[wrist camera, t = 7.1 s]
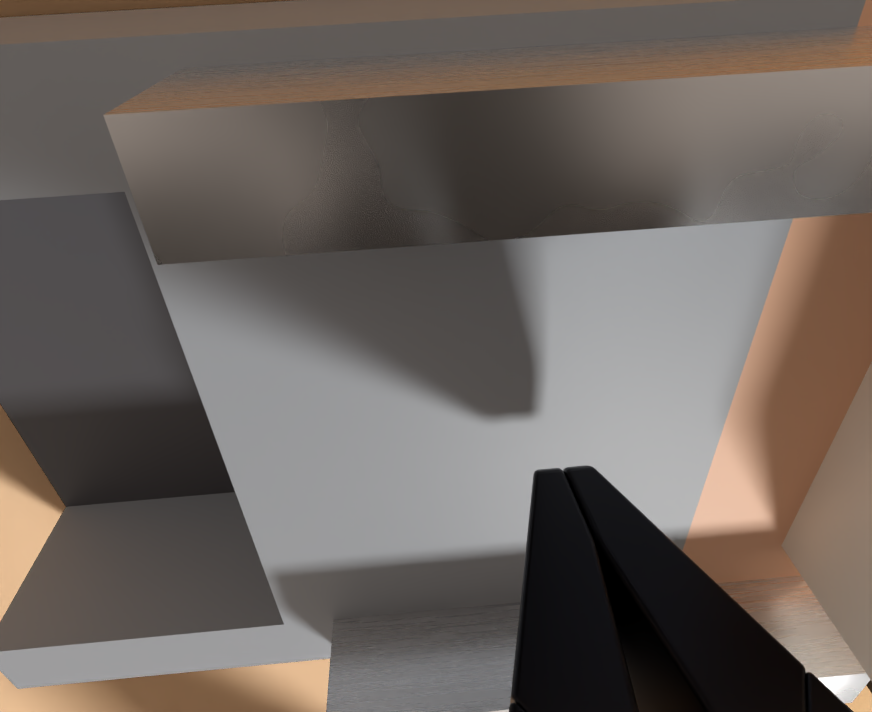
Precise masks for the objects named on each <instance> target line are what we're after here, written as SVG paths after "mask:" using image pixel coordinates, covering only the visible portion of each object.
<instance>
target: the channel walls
mask: <svg viewBox="0 0 872 712" xmlns="http://www.w3.org/2000/svg"><path fill="white" fill-rule="evenodd" d="M103 116H104V118H105V121H106V124H107V127H108V130H109V132H110V135H111V138H112V141H113V143H114V146H115V149H116V152H117V154H118V157H119V160H120V163H121V165H122V168H123V171H124V174H125V176H126V179H127V182H128V185H129V188H130V190H131V193H132V196H133V199H134V201H135V204H136V207H137V210H138V212H139V215H140V218H141V221H142V223H143V226H144V229H145V232H146V235H147V237H148V240H149V243H150V246H151V248H152V251H153V254H154V257H155V259H156V262H157V265H164V264H178V263H192V262H205V261H219V260H233V259H246V258H260V257H274V256H287V255H301V254H315V253H328V252H342V251H356V250H369V249H383V248H397V247H410V246H424V245H438V244H451V243H465V242H479V241H492V240H506V239H520V238H533V237H547V236H561V235H574V234H588V233H602V232H615V231H629V230H643V229H656V228H670V227H684V226H697V225H711V224H725V223H738V222H752V221H766V220H779V219H793V218H807V217H820V216H834V215H848V214H861V213H872V26H858V27H842V28H826V29H809V30H793V31H777V32H761V33H745V34H728V35H712V36H696V37H680V38H664V39H647V40H631V41H615V42H599V43H583V44H566V45H550V46H534V47H518V48H501V49H485V50H469V51H453V52H437V53H420V54H404V55H388V56H372V57H356V58H339V59H323V60H307V61H291V62H275V63H258V64H242V65H226V66H210V67H194V68H182V69H180V70H178V71H177V72H175V73H173V74H172V75H170V76H168V77H167V78H165V79H163V80H161V81H160V82H158V83H156V84H155V85H153V86H151V87H150V88H148V89H146V90H145V91H143V92H141V93H140V94H138V95H136V96H134V97H133V98H131V99H129V100H128V101H126V102H124V103H123V104H121V105H119V106H118V107H116V108H114V109H112V110H111V111H109V112H107V113H106V114H104V115H103ZM717 584H718V585H719V586H720V587H721V588H722V589H723V590H724V591H725V592H726V593H728V594H729V595H730V596H731V597H732V598H733V599H734V600H735V601H736V602H737V603H738V604H739V605H740V606H741V607H742V608H743V609H744V610H745V611H747V612H748V613H749V614H750V615H751V616H752V617H753V618H754V619H755V620H756V621H757V622H758V623H759V624H760V625H761V626H762V627H763V628H765V629H766V630H767V631H768V632H769V633H770V634H771V635H772V636H773V637H774V638H775V639H776V640H777V641H778V642H779V643H780V644H781V645H783V646H784V647H785V648H786V649H787V650H788V651H789V652H790V653H791V654H792V655H793V656H794V657H795V658H796V659H797V660H798V661H799V662H801V663H802V664H803V665H804V667H805V671H806V672H811V673H812V674H814V675H815V676H816V677H817V678H818V679H819V680H820V681H821V682H822V683H823V684H824V685H825V686H826V687H827V688H828V689H829V690H831V691H832V692H833V693H834V694H835V695H836V696H837V697H838V698H839V699H840V700H841V701H842V702H843V703H852V702H853V701H854V699H855V698H856V697H857V696H858V694H859V693H860V692H861V691H862V690H863V688H864V687H865V686H866V685H867V683H868V682H869V681H870V678H869V677H868V675H867V674H866V672H865V671H864V669H863V668H862V666H861V665H860V663H859V662H858V660H857V659H856V657H855V656H854V654H853V653H852V651H851V650H850V648H849V647H848V645H847V644H846V642H845V641H844V639H843V638H842V636H841V635H840V633H839V632H838V630H837V629H836V627H835V626H834V624H833V623H832V621H831V620H830V618H829V617H828V615H827V614H826V612H825V611H824V609H823V608H822V606H821V605H820V603H819V602H818V600H817V599H816V597H815V596H814V594H813V593H812V591H811V590H810V588H809V587H808V585H807V584H806V582H805V581H804V579H803V578H802V576H801V575H800V576H789V577H779V578H768V579H757V580H747V581H736V582H726V583H717ZM519 610H520V602H516V603H505V604H495V605H484V606H473V607H463V608H452V609H442V610H431V611H421V612H410V613H400V614H389V615H379V616H368V617H358V618H347V619H337V620H333V630H332V644H331V657H330V670H329V683H328V697H327V710H326V712H509V706H510V699H511V688H512V679H513V669H514V659H515V649H516V640H517V630H518V620H519Z"/></svg>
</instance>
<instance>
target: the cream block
mask: <svg viewBox="0 0 872 712" xmlns="http://www.w3.org/2000/svg"><path fill="white" fill-rule="evenodd" d="M781 546H782V548H783V549H784V551H785V552H786V554H787V555H788V557H789V558H790V560H791V561H792V563H793V564H794V566H795V567H796V569H797V570H798V572H799V573H800V575H801V576H802V578H803V579H804V581H805V582H806V584H807V585H808V587H809V588H810V590H811V591H812V593H813V594H814V596H815V597H816V599H817V600H818V602H819V603H820V605H821V606H822V608H823V609H824V611H825V612H826V614H827V615H828V617H829V618H830V620H831V621H832V623H833V624H834V626H835V627H836V629H837V630H838V632H839V633H840V635H841V636H842V638H843V639H844V641H845V642H846V644H847V645H848V647H849V648H850V650H851V651H852V653H853V654H854V656H855V657H856V659H857V660H858V662H859V663H860V665H861V666H862V668H863V669H864V671H865V672H866V674H867V675H868V677H869V678H870V680H871V681H872V362H871V364H870V366H869V368H868V370H867V372H866V374H865V376H864V378H863V380H862V382H861V384H860V387H859V389H858V391H857V393H856V395H855V397H854V399H853V401H852V403H851V405H850V407H849V409H848V411H847V413H846V415H845V417H844V419H843V421H842V423H841V425H840V427H839V429H838V431H837V433H836V435H835V437H834V439H833V441H832V443H831V446H830V448H829V450H828V452H827V454H826V456H825V458H824V460H823V462H822V464H821V466H820V468H819V470H818V472H817V474H816V476H815V478H814V480H813V482H812V484H811V486H810V488H809V490H808V492H807V494H806V496H805V498H804V500H803V503H802V505H801V507H800V509H799V511H798V513H797V515H796V517H795V519H794V521H793V523H792V525H791V527H790V529H789V531H788V533H787V535H786V537H785V539H784V541H783V543H782V545H781Z"/></svg>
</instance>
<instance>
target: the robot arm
mask: <svg viewBox="0 0 872 712" xmlns="http://www.w3.org/2000/svg"><path fill="white" fill-rule="evenodd" d="M867 687H868V688H869V690H870V691H871V693H872V681H871V680H870V681H869V682H868V683H867ZM509 712H853V711H852V710H851V709H850V708H849V707H848V706H847V705H845V704H844V703H843V702H842V701H841V700H840V699H839V698H838V697H837V696H836V695H835V694H834V693H833V692H832V691H831V690H829V689H828V688H827V687H826V686H825V685H824V684H823V683H822V682H821V681H820V680H819V679H818V678H817V677H816V676H815V675H814V674H812V673H811V672H806V671H805V667H804V665H803V664H802V663H801V662H799V661H798V660H797V659H796V658H795V657H794V656H793V655H792V654H791V653H790V652H789V651H788V650H787V649H786V648H785V647H784V646H783V645H781V644H780V643H779V642H778V641H777V640H776V639H775V638H774V637H773V636H772V635H771V634H770V633H769V632H768V631H767V630H766V629H765V628H763V627H762V626H761V625H760V624H759V623H758V622H757V621H756V620H755V619H754V618H753V617H752V616H751V615H750V614H749V613H748V612H747V611H745V610H744V609H743V608H742V607H741V606H740V605H739V604H738V603H737V602H736V601H735V600H734V599H733V598H732V597H731V596H730V595H729V594H728V593H726V592H725V591H724V590H723V589H722V588H721V587H720V586H719V585H718V584H717V583H716V582H715V581H714V580H713V579H712V578H711V577H710V576H708V575H707V574H706V573H705V572H704V571H703V570H702V569H701V568H700V567H699V566H698V565H697V564H696V563H695V562H694V561H693V560H692V559H690V558H689V557H688V556H687V555H686V554H685V553H684V552H683V551H682V550H681V549H680V548H679V547H678V546H677V545H676V544H675V543H674V542H672V541H671V540H670V539H669V538H668V537H667V536H666V535H665V534H664V533H663V532H662V531H661V530H660V529H659V528H658V527H657V526H656V525H655V524H653V523H652V522H651V521H650V520H649V519H648V518H647V517H646V516H645V515H644V514H643V513H642V512H641V511H640V510H639V509H638V508H637V507H635V506H634V505H633V504H632V503H631V502H630V501H629V500H628V499H627V498H626V497H625V496H624V495H623V494H622V493H621V492H620V491H619V490H617V489H616V488H615V487H614V486H613V485H612V484H611V483H610V482H609V481H608V480H607V479H606V478H605V477H604V476H603V475H602V474H601V473H599V472H598V471H597V470H596V469H595V468H594V467H592V466H589V465H584V466H573V467H566V468H564V469H563V470H562V469H560V468H550V469H539V470H536V471H535V472H534V474H533V484H532V493H531V503H530V513H529V523H528V532H527V542H526V552H525V562H524V571H523V581H522V591H521V601H520V610H519V620H518V630H517V640H516V649H515V659H514V669H513V679H512V688H511V699H510V706H509Z"/></svg>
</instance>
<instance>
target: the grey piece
mask: <svg viewBox="0 0 872 712" xmlns="http://www.w3.org/2000/svg"><path fill="white" fill-rule="evenodd" d="M858 26H872V0H292V1H275V2H258V3H241V4H223V5H206V6H189V7H172V8H155V9H137V10H120V11H103V12H86V13H68V14H51V15H34V16H17V17H0V404H1V406H2V407H3V409H4V410H5V412H6V413H7V415H8V417H9V418H10V420H11V421H12V423H13V424H14V426H15V428H16V429H17V431H18V432H19V434H20V435H21V437H22V439H23V440H24V442H25V443H26V445H27V446H28V448H29V450H30V451H31V453H32V454H33V456H34V457H35V459H36V461H37V462H38V464H39V465H40V467H41V468H42V470H43V472H44V473H45V475H46V476H47V478H48V479H49V481H50V483H51V484H52V486H53V487H54V489H55V490H56V492H57V493H58V495H59V497H60V498H61V500H62V501H63V503H64V504H65V506H66V508H65V509H64V511H63V513H62V515H61V516H60V518H59V520H58V522H57V523H56V525H55V527H54V529H53V530H52V532H51V534H50V536H49V537H48V539H47V541H46V543H45V544H44V546H43V548H42V550H41V551H40V553H39V555H38V557H37V558H36V560H35V562H34V564H33V566H32V567H31V569H30V571H29V573H28V574H27V576H26V578H25V580H24V581H23V583H22V585H21V587H20V588H19V590H18V592H17V594H16V595H15V597H14V599H13V601H12V602H11V604H10V606H9V608H8V609H7V611H6V613H5V615H4V616H3V618H2V620H1V622H0V671H1V672H2V673H3V674H4V675H5V676H6V677H7V678H8V679H9V680H10V681H11V682H12V683H13V684H14V686H15V687H16V688H17V689H21V688H31V687H41V686H51V685H62V684H72V683H82V682H93V681H103V680H113V679H123V678H134V677H144V676H154V675H164V674H175V673H185V672H195V671H206V670H216V669H226V668H236V667H247V666H257V665H267V664H277V663H288V662H298V661H308V660H319V659H329V658H330V657H331V644H332V630H333V620H337V619H347V618H358V617H368V616H379V615H389V614H400V613H410V612H421V611H431V610H442V609H452V608H463V607H473V606H484V605H495V604H505V603H516V602H520V601H521V591H522V581H523V571H524V562H525V552H526V542H527V532H528V523H529V513H530V503H531V493H532V484H533V474H534V472H535V471H536V470H539V469H550V468H560V469H562V470H563V469H564V468H566V467H573V466H584V465H589V466H592V467H594V468H595V469H596V470H597V471H598V472H599V473H601V474H602V475H603V476H604V477H605V478H606V479H607V480H608V481H609V482H610V483H611V484H612V485H613V486H614V487H615V488H616V489H617V490H619V491H620V492H621V493H622V494H623V495H624V496H625V497H626V498H627V499H628V500H629V501H630V502H631V503H632V504H633V505H634V506H635V507H637V508H638V509H639V510H640V511H641V512H642V513H643V514H644V515H645V516H646V517H647V518H648V519H649V520H650V521H651V522H652V523H653V524H655V525H656V526H657V527H658V528H659V529H660V530H661V531H662V532H663V533H664V534H665V535H666V536H667V537H668V538H669V539H670V540H671V541H672V542H674V543H675V544H676V545H677V546H678V547H679V548H680V549H681V550H682V551H683V552H684V553H685V554H686V555H687V556H688V557H689V558H690V559H692V560H693V561H694V562H695V563H696V564H697V565H698V566H699V567H700V568H701V569H702V570H703V571H704V572H705V573H706V574H707V575H708V576H710V577H711V578H712V579H713V580H714V581H715V582H716V583H726V582H736V581H747V580H757V579H768V578H779V577H789V576H800V573H799V572H798V570H797V569H796V567H795V566H794V564H793V563H792V561H791V560H790V558H789V557H788V555H787V554H786V552H785V551H784V549H783V548H782V546H781V545H782V543H783V541H784V539H785V537H786V535H787V533H788V531H789V529H790V527H791V525H792V523H793V521H794V519H795V517H796V515H797V513H798V511H799V509H800V507H801V505H802V503H803V500H804V498H805V496H806V494H807V492H808V490H809V488H810V486H811V484H812V482H813V480H814V478H815V476H816V474H817V472H818V470H819V468H820V466H821V464H822V462H823V460H824V458H825V456H826V454H827V452H828V450H829V448H830V446H831V443H832V441H833V439H834V437H835V435H836V433H837V431H838V429H839V427H840V425H841V423H842V421H843V419H844V417H845V415H846V413H847V411H848V409H849V407H850V405H851V403H852V401H853V399H854V397H855V395H856V393H857V391H858V389H859V387H860V384H861V382H862V380H863V378H864V376H865V374H866V372H867V370H868V368H869V366H870V364H871V362H872V213H861V214H848V215H834V216H820V217H807V218H793V219H779V220H766V221H752V222H738V223H725V224H711V225H697V226H684V227H670V228H656V229H643V230H629V231H615V232H602V233H588V234H574V235H561V236H547V237H533V238H520V239H506V240H492V241H479V242H465V243H451V244H438V245H424V246H410V247H397V248H383V249H369V250H356V251H342V252H328V253H315V254H301V255H287V256H274V257H260V258H246V259H233V260H219V261H205V262H192V263H178V264H164V265H157V262H156V259H155V257H154V254H153V251H152V248H151V246H150V243H149V240H148V237H147V235H146V232H145V229H144V226H143V223H142V221H141V218H140V215H139V212H138V210H137V207H136V204H135V201H134V199H133V196H132V193H131V190H130V188H129V185H128V182H127V179H126V176H125V174H124V171H123V168H122V165H121V163H120V160H119V157H118V154H117V152H116V149H115V146H114V143H113V141H112V138H111V135H110V132H109V130H108V127H107V124H106V121H105V118H104V116H103V115H104V114H106V113H107V112H109V111H111V110H112V109H114V108H116V107H118V106H119V105H121V104H123V103H124V102H126V101H128V100H129V99H131V98H133V97H134V96H136V95H138V94H140V93H141V92H143V91H145V90H146V89H148V88H150V87H151V86H153V85H155V84H156V83H158V82H160V81H161V80H163V79H165V78H167V77H168V76H170V75H172V74H173V73H175V72H177V71H178V70H180V69H182V68H194V67H210V66H226V65H242V64H258V63H275V62H291V61H307V60H323V59H339V58H356V57H372V56H388V55H404V54H420V53H437V52H453V51H469V50H485V49H501V48H518V47H534V46H550V45H566V44H583V43H599V42H615V41H631V40H647V39H664V38H680V37H696V36H712V35H728V34H745V33H761V32H777V31H793V30H809V29H826V28H842V27H858Z"/></svg>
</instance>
